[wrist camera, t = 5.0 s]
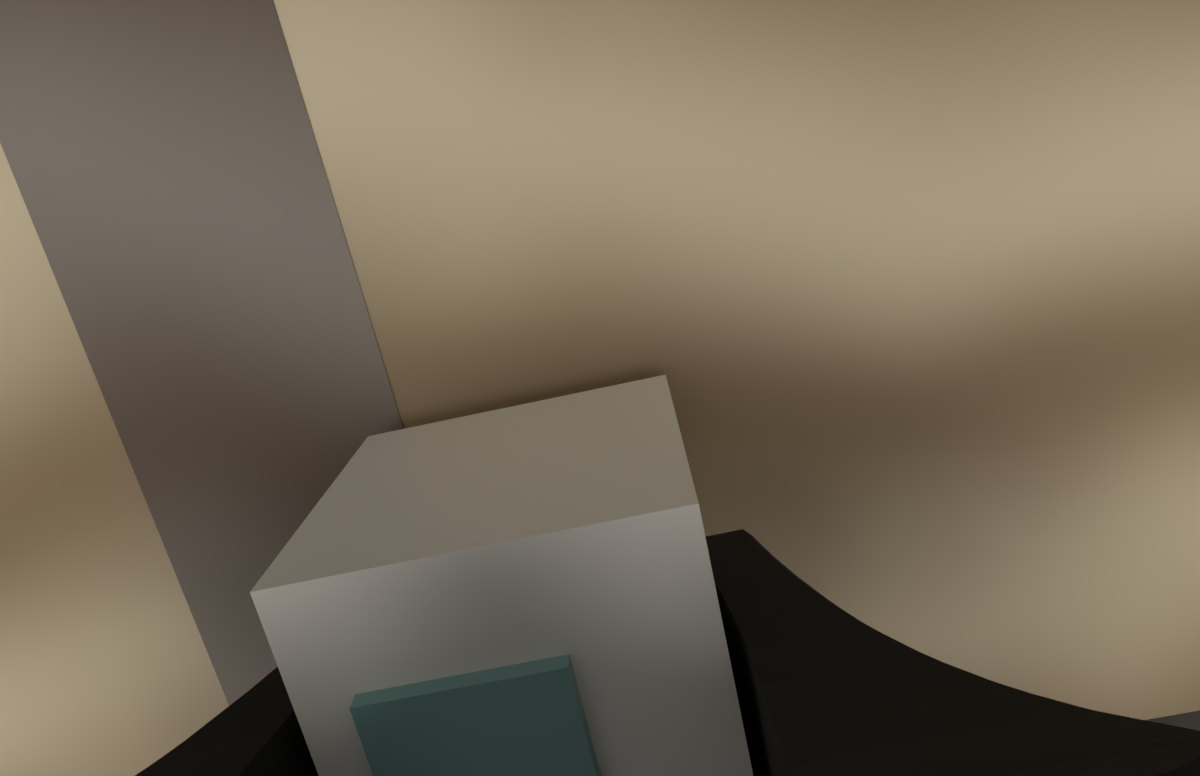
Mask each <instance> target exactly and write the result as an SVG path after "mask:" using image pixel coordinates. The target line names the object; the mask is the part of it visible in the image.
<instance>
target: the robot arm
mask: <svg viewBox="0 0 1200 776" xmlns="http://www.w3.org/2000/svg"><path fill="white" fill-rule="evenodd" d="M705 537H706V542H707V547H708V552H709V557H710V562H711V567H712V572H713V577H714V582H715V587H716V592H717V597H718V602H719V607H720V612H721V617H722V622H723V627H724V632H725V637H726V642H727V647H728V652H729V657H730V662H731V667H732V672H733V677H734V682H735V687H736V692H737V697H738V702H739V707H740V712H741V717H742V722H743V726H744V731H745V736H746V741H747V746H748V751H749V756H750V761H751V766H752V771H753V776H1200V731H1197V730H1192V729H1187V728H1182V727H1177V726H1172V725H1166V724H1161V723H1156V722H1151V721H1146V720H1141V719H1135V718H1130V717H1125V716H1120V715H1115V714H1110V713H1105V712H1099V711H1095V710H1091V709H1087V708H1083V707H1079V706H1075V705H1072V704H1068V703H1064V702H1061V701H1057V700H1053V699H1050V698H1046V697H1043V696H1039V695H1035V694H1032V693H1028V692H1025V691H1022V690H1019V689H1016V688H1013V687H1009V686H1006V685H1003V684H1000V683H997V682H994V681H991V680H988V679H986V678H983V677H980V676H978V675H975V674H973V673H970V672H967V671H965V670H962V669H960V668H957V667H954V666H952V665H949V664H946V663H944V662H942V661H939V660H937V659H935V658H932V657H930V656H928V655H925V654H923V653H921V652H919V651H917V650H915V649H913V648H911V647H909V646H907V645H905V644H903V643H901V642H899V641H897V640H895V639H893V638H891V637H889V636H887V635H885V634H883V633H881V632H879V631H877V630H875V629H874V628H872V627H870V626H868V625H866V624H865V623H863V622H861V621H860V620H858V619H857V618H855V617H853V616H852V615H850V614H849V613H847V612H846V611H844V610H843V609H841V608H840V607H838V606H837V605H835V604H834V603H832V602H831V601H830V600H828V599H827V598H825V597H824V596H823V595H821V594H820V593H819V592H817V591H816V590H815V589H813V588H812V587H811V586H809V585H808V584H807V583H806V582H804V581H803V580H802V579H800V578H799V577H798V576H796V575H795V574H794V573H793V572H792V571H790V570H789V569H788V568H787V567H786V566H784V565H783V564H782V563H781V562H780V561H779V560H778V559H776V558H775V557H774V556H773V555H772V554H771V553H770V552H769V551H768V550H766V549H765V548H764V547H763V546H762V545H761V544H760V543H759V542H758V541H757V540H756V539H755V538H754V537H753V536H752V535H751V534H749V533H748V532H746V531H745V530H744V529H741V530H736V531H731V532H726V533H721V534H716V535H710V536H705ZM135 776H319V775H318V773H317V770H316V767H315V765H314V762H313V759H312V757H311V754H310V751H309V749H308V746H307V743H306V741H305V738H304V735H303V733H302V730H301V727H300V725H299V722H298V719H297V717H296V714H295V711H294V709H293V706H292V703H291V701H290V698H289V695H288V693H287V690H286V687H285V685H284V682H283V679H282V677H281V674H280V671H279V669H278V667H276V668H275V669H274V670H273V671H272V672H270V673H269V674H268V675H267V676H266V677H264V678H263V679H262V680H261V681H260V682H258V683H257V684H256V685H255V686H254V687H253V688H251V689H250V690H249V691H248V692H246V693H245V694H244V695H243V696H241V697H240V698H239V699H237V700H236V701H235V702H234V703H232V704H231V705H230V706H228V707H227V708H226V709H225V710H223V711H222V712H221V713H220V714H218V715H217V716H216V717H214V718H213V719H212V720H211V721H209V722H208V723H207V724H205V725H204V726H203V727H202V728H200V729H199V730H198V731H197V732H195V733H194V734H193V735H191V736H190V737H189V738H188V739H186V740H185V741H184V742H182V743H181V744H179V745H178V746H177V747H175V748H174V749H173V750H171V751H170V752H169V753H167V754H166V755H164V756H163V757H161V758H160V759H159V760H157V761H156V762H154V763H153V764H151V765H150V766H149V767H147V768H146V769H144V770H143V771H141V772H140V773H138V774H137V775H135Z"/></svg>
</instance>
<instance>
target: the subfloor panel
mask: <svg viewBox="0 0 1200 776" xmlns="http://www.w3.org/2000/svg"><path fill="white" fill-rule="evenodd" d="M661 375H666V378H667V382H668V386H669V390H670V393H671V397H672V401H673V405H674V409H675V413H676V417H677V421H678V425H679V429H680V432H681V436H682V440H683V444H684V448H685V452H686V456H687V460H688V464H689V468H690V471H691V475H692V479H693V483H694V487H695V491H696V495H697V499H698V503H699V507H700V512H701V517H702V522H703V527H704V532H705V536H710V535H716V534H721V533H726V532H731V531H736V530H741V529H744V530H745V531H746V532H748V533H749V534H751V535H752V536H753V537H754V538H755V539H756V540H757V541H758V542H759V543H760V544H761V545H762V546H763V547H764V548H765V549H766V550H768V551H769V552H770V553H771V554H772V555H773V556H774V557H775V558H776V559H778V560H779V561H780V562H781V563H782V564H783V565H784V566H786V567H787V568H788V569H789V570H790V571H792V572H793V573H794V574H795V575H796V576H798V577H799V578H800V579H802V580H803V581H804V582H806V583H807V584H808V585H809V586H811V587H812V588H813V589H815V590H816V591H817V592H819V593H820V594H821V595H823V596H824V597H825V598H827V599H828V600H830V601H831V602H832V603H834V604H835V605H837V606H838V607H840V608H841V609H843V610H844V611H846V612H847V613H849V614H850V615H852V616H853V617H855V618H857V619H858V620H860V621H861V622H863V623H865V624H866V625H868V626H870V627H872V628H874V629H875V630H877V631H879V632H881V633H883V634H885V635H887V636H889V637H891V638H893V639H895V640H897V641H899V642H901V643H903V644H905V645H907V646H909V647H911V648H913V649H915V650H917V651H919V652H921V653H923V654H925V655H928V656H930V657H932V658H935V659H937V660H939V661H942V662H944V663H946V664H949V665H952V666H954V667H957V668H960V669H962V670H965V671H967V672H970V673H973V674H975V675H978V676H980V677H983V678H986V679H988V680H991V681H994V682H997V683H1000V684H1003V685H1006V686H1009V687H1013V688H1016V689H1019V690H1022V691H1025V692H1028V693H1032V694H1035V695H1039V696H1043V697H1046V698H1050V699H1053V700H1057V701H1061V702H1064V703H1068V704H1072V705H1075V706H1079V707H1083V708H1087V709H1091V710H1095V711H1099V712H1105V713H1110V714H1115V715H1120V716H1125V717H1130V718H1135V719H1141V720H1148V719H1153V718H1159V717H1165V716H1170V715H1176V714H1181V713H1187V712H1193V711H1198V710H1200V0H0V776H135V775H137V774H138V773H140V772H141V771H143V770H144V769H146V768H147V767H149V766H150V765H151V764H153V763H154V762H156V761H157V760H159V759H160V758H161V757H163V756H164V755H166V754H167V753H169V752H170V751H171V750H173V749H174V748H175V747H177V746H178V745H179V744H181V743H182V742H184V741H185V740H186V739H188V738H189V737H190V736H191V735H193V734H194V733H195V732H197V731H198V730H199V729H200V728H202V727H203V726H204V725H205V724H207V723H208V722H209V721H211V720H212V719H213V718H214V717H216V716H217V715H218V714H220V713H221V712H222V711H223V710H225V709H226V708H227V707H228V706H230V705H231V704H232V703H234V702H235V701H236V700H237V699H239V698H240V697H241V696H243V695H244V694H245V693H246V692H248V691H249V690H250V689H251V688H253V687H254V686H255V685H256V684H257V683H258V682H260V681H261V680H262V679H263V678H264V677H266V676H267V675H268V674H269V673H270V672H272V671H273V670H274V669H275V668H276V667H278V666H277V663H276V661H275V658H274V655H273V653H272V650H271V647H270V645H269V642H268V639H267V637H266V634H265V631H264V629H263V626H262V623H261V621H260V618H259V615H258V613H257V610H256V607H255V605H254V602H253V599H252V597H251V594H250V591H251V590H252V589H253V587H254V586H255V585H256V583H257V582H258V581H259V579H260V578H261V577H262V575H263V574H264V573H265V571H266V570H267V569H268V567H269V566H270V565H271V563H272V562H273V561H274V560H275V558H276V557H277V556H278V554H279V553H280V552H281V550H282V549H283V548H284V546H285V545H286V544H287V542H288V541H289V540H290V538H291V537H292V536H293V535H294V533H295V532H296V531H297V529H298V528H299V527H300V525H301V524H302V523H303V521H304V520H305V519H306V517H307V516H308V515H309V513H310V512H311V511H312V510H313V508H314V507H315V506H316V504H317V503H318V502H319V500H320V499H321V498H322V496H323V495H324V494H325V492H326V491H327V490H328V488H329V487H330V486H331V484H332V483H333V482H334V481H335V479H336V478H337V477H338V475H339V474H340V473H341V471H342V470H343V469H344V467H345V466H346V465H347V463H348V462H349V461H350V459H351V458H352V457H353V456H354V454H355V453H356V452H357V450H358V449H359V448H360V446H361V445H362V444H363V442H364V441H365V440H366V438H367V437H368V436H372V435H377V434H381V433H386V432H391V431H396V430H401V429H405V428H410V427H415V426H420V425H425V424H430V423H434V422H439V421H444V420H449V419H454V418H459V417H463V416H468V415H473V414H478V413H483V412H487V411H492V410H497V409H502V408H507V407H512V406H516V405H521V404H526V403H531V402H536V401H540V400H545V399H550V398H555V397H560V396H565V395H569V394H574V393H579V392H584V391H589V390H593V389H598V388H603V387H608V386H613V385H618V384H622V383H627V382H632V381H637V380H642V379H647V378H651V377H656V376H661Z"/></svg>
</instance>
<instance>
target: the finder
mask: <svg viewBox="0 0 1200 776" xmlns="http://www.w3.org/2000/svg"><path fill="white" fill-rule="evenodd" d="M250 594H251V597H252V599H253V602H254V605H255V607H256V610H257V613H258V615H259V618H260V621H261V623H262V626H263V629H264V631H265V634H266V637H267V639H268V642H269V645H270V647H271V650H272V653H273V655H274V658H275V661H276V663H277V666H278V669H279V671H280V674H281V677H282V679H283V682H284V685H285V687H286V690H287V693H288V695H289V698H290V701H291V703H292V706H293V709H294V711H295V714H296V717H297V719H298V722H299V725H300V727H301V730H302V733H303V735H304V738H305V741H306V743H307V746H308V749H309V751H310V754H311V757H312V759H313V762H314V765H315V767H316V770H317V773H318V775H319V776H753V771H752V766H751V761H750V756H749V751H748V746H747V741H746V736H745V731H744V726H743V722H742V717H741V712H740V707H739V702H738V697H737V692H736V687H735V682H734V677H733V672H732V667H731V662H730V657H729V652H728V647H727V642H726V637H725V632H724V627H723V622H722V617H721V612H720V607H719V602H718V597H717V592H716V587H715V582H714V577H713V572H712V567H711V562H710V557H709V552H708V547H707V542H706V537H705V532H704V527H703V522H702V517H701V512H700V507H699V503H698V499H697V495H696V491H695V487H694V483H693V479H692V475H691V471H690V468H689V464H688V460H687V456H686V452H685V448H684V444H683V440H682V436H681V432H680V429H679V425H678V421H677V417H676V413H675V409H674V405H673V401H672V397H671V393H670V390H669V386H668V382H667V378H666V375H661V376H656V377H651V378H647V379H642V380H637V381H632V382H627V383H622V384H618V385H613V386H608V387H603V388H598V389H593V390H589V391H584V392H579V393H574V394H569V395H565V396H560V397H555V398H550V399H545V400H540V401H536V402H531V403H526V404H521V405H516V406H512V407H507V408H502V409H497V410H492V411H487V412H483V413H478V414H473V415H468V416H463V417H459V418H454V419H449V420H444V421H439V422H434V423H430V424H425V425H420V426H415V427H410V428H405V429H401V430H396V431H391V432H386V433H381V434H377V435H372V436H368V437H367V438H366V440H365V441H364V442H363V444H362V445H361V446H360V448H359V449H358V450H357V452H356V453H355V454H354V456H353V457H352V458H351V459H350V461H349V462H348V463H347V465H346V466H345V467H344V469H343V470H342V471H341V473H340V474H339V475H338V477H337V478H336V479H335V481H334V482H333V483H332V484H331V486H330V487H329V488H328V490H327V491H326V492H325V494H324V495H323V496H322V498H321V499H320V500H319V502H318V503H317V504H316V506H315V507H314V508H313V510H312V511H311V512H310V513H309V515H308V516H307V517H306V519H305V520H304V521H303V523H302V524H301V525H300V527H299V528H298V529H297V531H296V532H295V533H294V535H293V536H292V537H291V538H290V540H289V541H288V542H287V544H286V545H285V546H284V548H283V549H282V550H281V552H280V553H279V554H278V556H277V557H276V558H275V560H274V561H273V562H272V563H271V565H270V566H269V567H268V569H267V570H266V571H265V573H264V574H263V575H262V577H261V578H260V579H259V581H258V582H257V583H256V585H255V586H254V587H253V589H252V590H251V591H250Z"/></svg>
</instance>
